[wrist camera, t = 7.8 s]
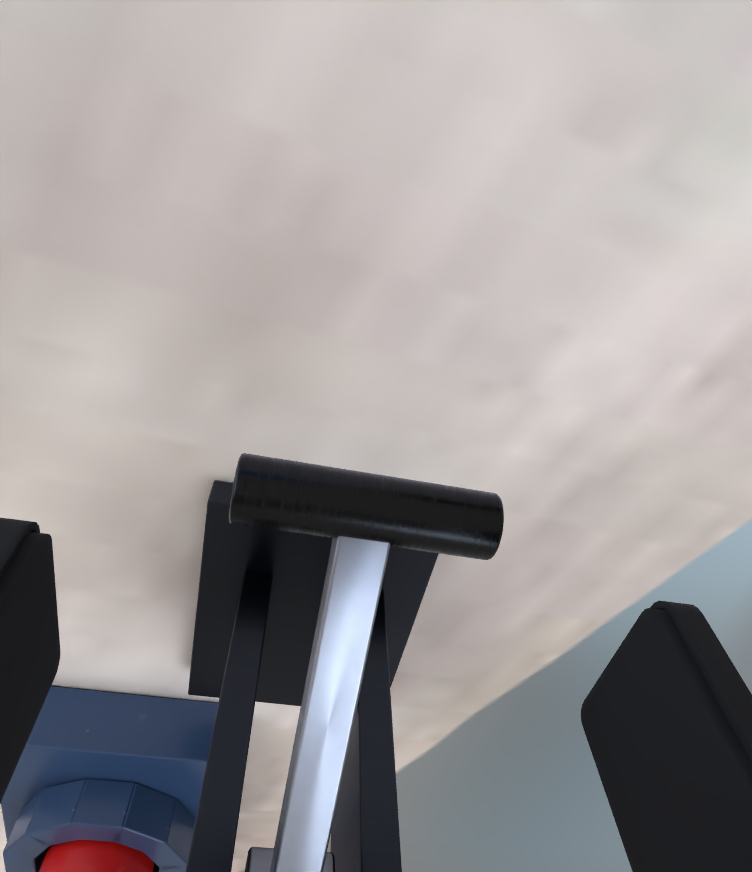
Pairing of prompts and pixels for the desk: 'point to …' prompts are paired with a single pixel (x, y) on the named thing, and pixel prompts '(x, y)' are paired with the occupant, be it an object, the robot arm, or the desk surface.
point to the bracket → (292, 678)
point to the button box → (109, 776)
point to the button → (95, 858)
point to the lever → (346, 610)
